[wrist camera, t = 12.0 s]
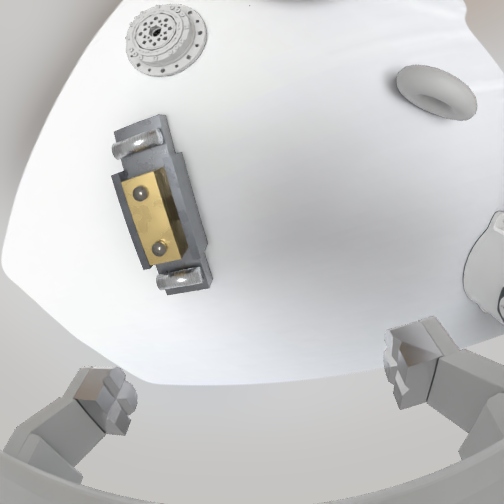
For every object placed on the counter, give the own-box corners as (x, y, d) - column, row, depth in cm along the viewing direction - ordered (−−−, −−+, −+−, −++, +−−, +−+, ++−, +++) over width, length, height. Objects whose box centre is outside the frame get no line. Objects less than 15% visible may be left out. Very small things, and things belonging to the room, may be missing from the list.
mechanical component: (116, 51, 28) (166, 92, 31) (99, 44, 24) (153, 88, 27) (169, -4, 25) (224, 34, 28) (158, -18, 21) (219, 22, 24)
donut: (449, 102, 29) (496, 101, 20) (443, 124, 30) (490, 128, 21) (386, 67, 28) (425, 51, 19) (380, 91, 29) (418, 81, 20)
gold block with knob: (163, 166, 32) (151, 172, 28) (188, 246, 36) (180, 261, 32) (133, 176, 32) (118, 183, 29) (159, 253, 36) (148, 267, 32)
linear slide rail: (171, 113, 32) (159, 111, 27) (218, 277, 40) (213, 295, 36) (117, 133, 33) (100, 135, 28) (167, 286, 41) (157, 304, 37)
